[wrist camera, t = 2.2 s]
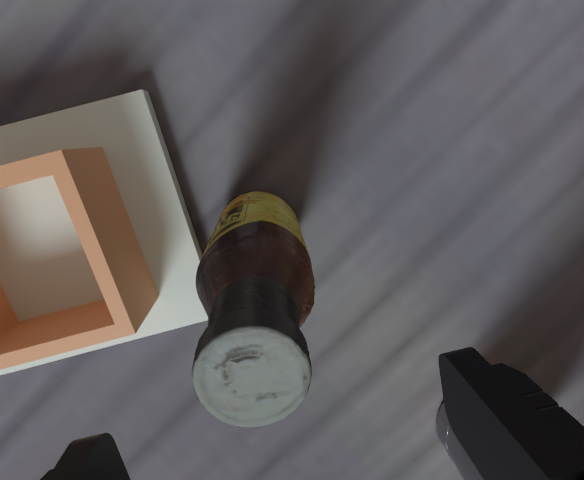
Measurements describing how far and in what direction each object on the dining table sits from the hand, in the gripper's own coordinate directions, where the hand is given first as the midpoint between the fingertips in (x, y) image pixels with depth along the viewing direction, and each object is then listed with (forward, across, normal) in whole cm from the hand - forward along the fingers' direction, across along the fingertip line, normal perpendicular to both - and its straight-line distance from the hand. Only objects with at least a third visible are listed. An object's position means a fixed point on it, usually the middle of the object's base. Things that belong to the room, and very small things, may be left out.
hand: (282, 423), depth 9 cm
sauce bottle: (+23, +1, 0) cm, 23 cm away
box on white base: (+23, +16, -2) cm, 28 cm away
